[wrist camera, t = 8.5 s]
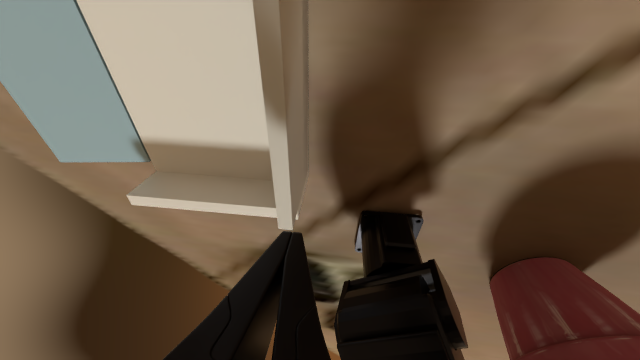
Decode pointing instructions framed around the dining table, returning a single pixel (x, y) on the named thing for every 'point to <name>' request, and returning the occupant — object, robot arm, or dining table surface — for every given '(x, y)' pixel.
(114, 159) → the tailgate
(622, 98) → the dining table surface
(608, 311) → the plant pot
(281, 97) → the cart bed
